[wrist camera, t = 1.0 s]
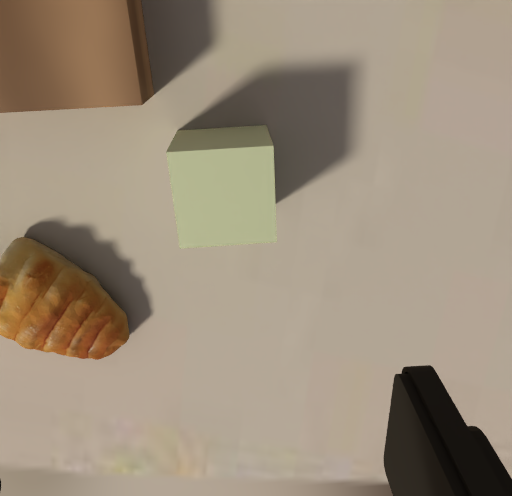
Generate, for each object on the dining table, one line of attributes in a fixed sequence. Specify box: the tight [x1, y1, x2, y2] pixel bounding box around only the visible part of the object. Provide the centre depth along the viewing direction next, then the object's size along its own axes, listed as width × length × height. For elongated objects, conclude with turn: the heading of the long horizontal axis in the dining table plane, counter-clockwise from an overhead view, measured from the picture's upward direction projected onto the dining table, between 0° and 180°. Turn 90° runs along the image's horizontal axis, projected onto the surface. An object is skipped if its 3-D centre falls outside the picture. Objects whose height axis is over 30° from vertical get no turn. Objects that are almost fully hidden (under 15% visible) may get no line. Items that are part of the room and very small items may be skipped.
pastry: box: [0, 237, 129, 359], centre depth 28 cm, size 9×7×4 cm
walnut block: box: [0, 0, 154, 113], centre depth 21 cm, size 11×9×4 cm
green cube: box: [166, 125, 277, 249], centre depth 24 cm, size 5×5×5 cm
